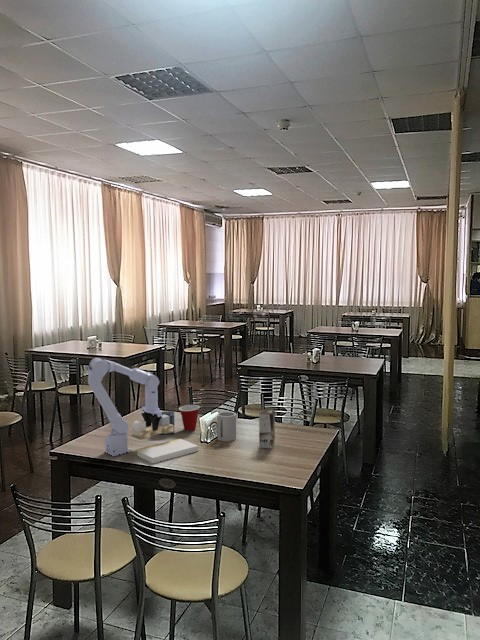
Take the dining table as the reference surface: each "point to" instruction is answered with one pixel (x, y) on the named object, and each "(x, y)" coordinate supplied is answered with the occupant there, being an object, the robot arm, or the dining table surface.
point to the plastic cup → (189, 416)
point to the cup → (226, 426)
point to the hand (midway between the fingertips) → (151, 429)
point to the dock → (166, 450)
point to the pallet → (151, 431)
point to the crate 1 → (139, 425)
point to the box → (171, 417)
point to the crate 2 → (164, 420)
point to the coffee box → (266, 428)
